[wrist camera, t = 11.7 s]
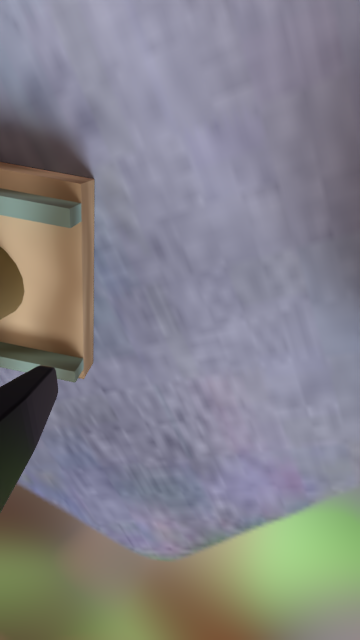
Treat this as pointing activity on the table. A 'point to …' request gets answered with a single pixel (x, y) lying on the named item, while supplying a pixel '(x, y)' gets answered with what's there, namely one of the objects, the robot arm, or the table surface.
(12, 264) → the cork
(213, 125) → the table surface
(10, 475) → the robot arm
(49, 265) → the dock
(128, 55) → the table surface
